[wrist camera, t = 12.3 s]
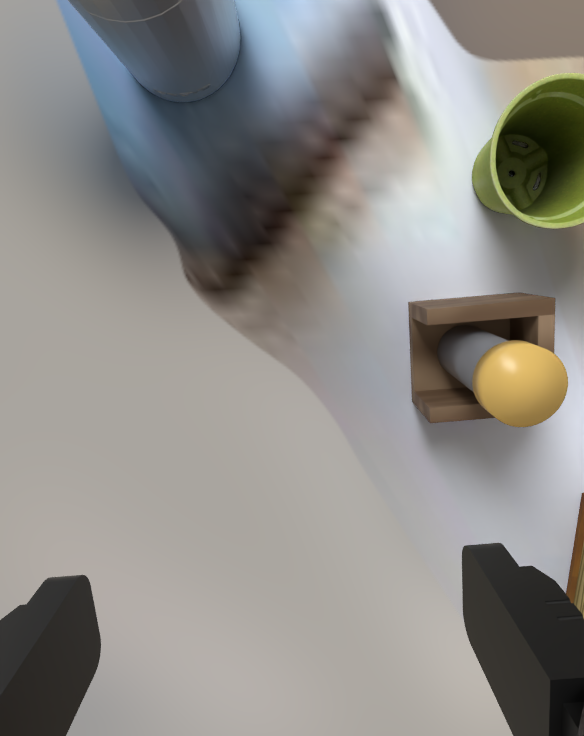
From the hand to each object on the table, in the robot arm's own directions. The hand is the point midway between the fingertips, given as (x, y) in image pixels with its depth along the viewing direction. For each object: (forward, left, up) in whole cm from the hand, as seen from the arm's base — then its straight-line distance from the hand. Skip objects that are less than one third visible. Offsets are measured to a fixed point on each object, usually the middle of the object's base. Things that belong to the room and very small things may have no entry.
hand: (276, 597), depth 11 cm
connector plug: (+2, +15, -33) cm, 36 cm away
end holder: (+2, +15, -34) cm, 37 cm away
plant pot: (-12, +19, -34) cm, 41 cm away
